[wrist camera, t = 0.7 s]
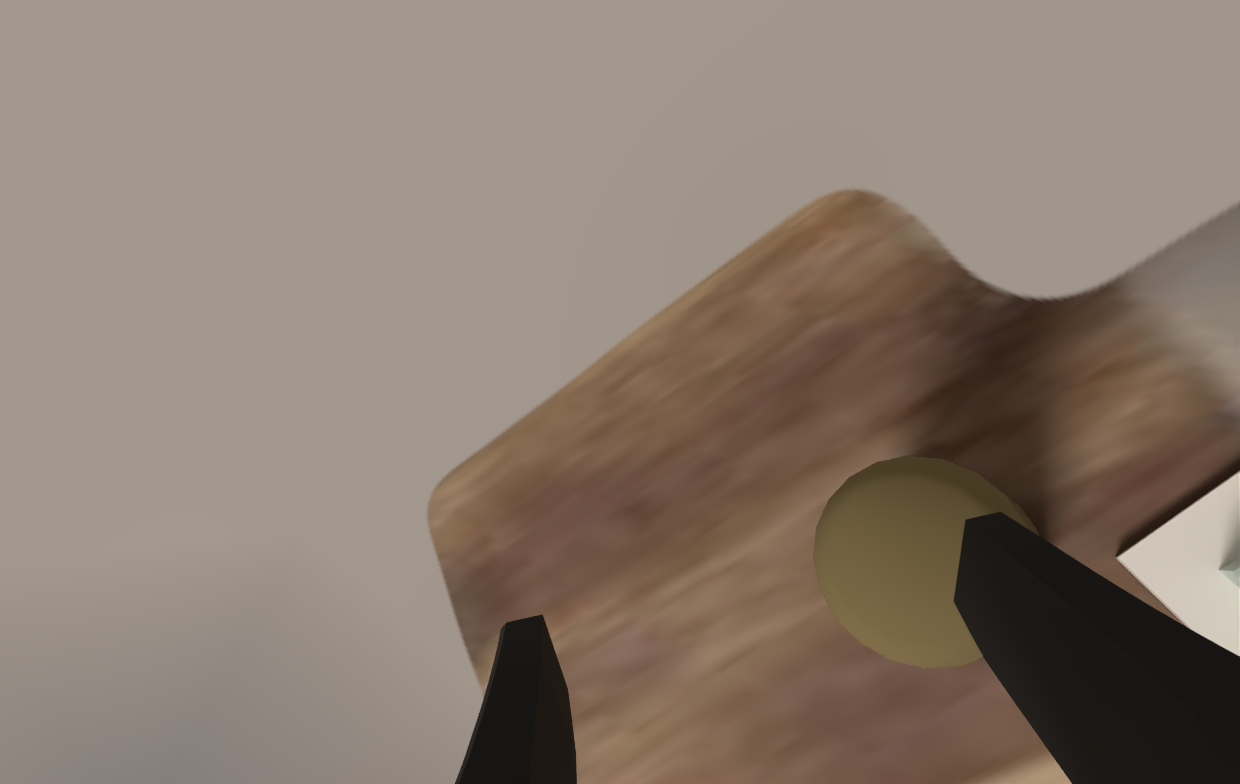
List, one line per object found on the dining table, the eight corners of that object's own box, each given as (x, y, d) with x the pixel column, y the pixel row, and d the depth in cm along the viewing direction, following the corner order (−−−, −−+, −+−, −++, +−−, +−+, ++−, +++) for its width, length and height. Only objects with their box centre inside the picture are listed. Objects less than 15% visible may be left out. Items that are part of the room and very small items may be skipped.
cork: (834, 572, 27) (737, 582, 18) (920, 444, 27) (866, 386, 18) (982, 681, 24) (958, 761, 15) (1084, 538, 24) (1125, 528, 14)
